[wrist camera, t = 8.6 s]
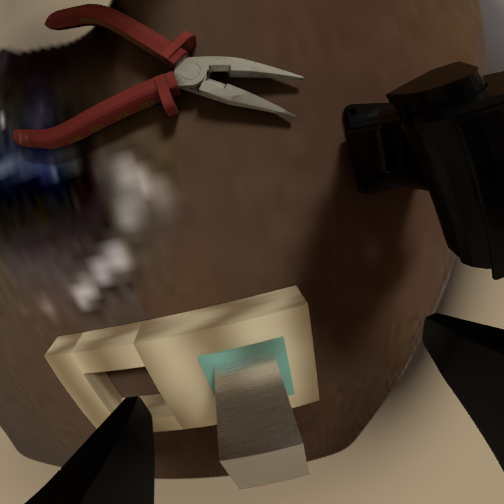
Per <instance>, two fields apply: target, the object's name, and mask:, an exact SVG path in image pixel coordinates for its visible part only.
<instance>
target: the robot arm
mask: <svg viewBox="0 0 504 504" xmlns="http://www.w3.org/2000/svg"><path fill="white" fill-rule="evenodd" d="M386 96H387V98H388V100H389V102H390V103H371V104H351V105H348V106H346V107H345V109H344V113H345V118H346V122H347V127H348V133H347V138H348V144H349V149H350V155H351V161H352V167H353V168H354V169H355V173H356V179H357V187H358V190H359V191H360V192H361V193H364V194H369V193H374V192H379V191H384V190H389V189H394V188H400V187H405V186H407V187H411V188H416V189H421V190H425V191H429V193H430V196H431V199H432V201H433V204H434V207H435V210H436V213H437V216H438V219H439V222H440V225H441V228H442V232H443V235H444V238H445V240H446V243H447V245H448V248H449V249H451V250H452V251H453V252H454V253H455V254H456V255H457V256H459V257H460V260H461V262H462V263H464V264H466V265H469V266H471V267H477V268H484V269H492V278H493V279H495V280H497V279H500V278H503V277H504V71H502V72H498V73H493V74H489V75H484V76H482V74H481V72H480V70H479V68H478V67H476V66H473V65H470V64H466V63H463V62H460V61H459V62H455V63H452V64H448V65H445V66H442V67H439V68H436V69H433V70H431V71H429V72H427V73H425V74H423V75H421V76H419V77H417V78H415V79H413V80H412V81H410V82H408V83H406V84H404V85H402V86H400V87H399V88H397V89H395V90H393V91H391V92H390V93H388V94H386ZM350 109H352V110H353V111H354V114H351V113H350ZM364 184H366V189H365V190H364V189H363V185H364ZM422 340H423V343H424V345H425V347H426V349H427V350H428V352H429V354H430V355H431V357H432V359H433V360H434V362H435V364H436V366H437V368H438V369H439V371H440V373H441V374H442V376H443V378H444V379H445V381H446V382H447V384H448V385H449V386H450V388H451V389H452V391H453V392H454V393H455V395H456V396H457V398H458V399H459V400H460V402H461V403H462V405H463V406H464V408H465V409H466V411H467V412H468V414H469V415H470V417H471V418H472V420H473V421H474V423H475V424H476V426H477V428H478V429H479V431H480V432H481V434H482V435H483V437H484V438H485V440H486V442H487V443H488V445H489V447H490V448H491V450H492V452H493V453H494V455H495V457H496V459H497V460H498V462H499V464H500V466H501V468H502V469H503V471H504V330H503V329H500V328H495V327H491V326H487V325H483V324H479V323H475V322H471V321H467V320H463V319H459V318H455V317H451V316H447V315H443V314H439V313H434V314H432V315H430V316H427V317H426V318H425V321H424V328H423V335H422ZM154 477H155V452H154V437H153V418H152V415H151V412H150V411H149V409H148V408H147V406H146V405H145V403H144V402H143V400H142V399H141V398H140V397H139V396H129V397H126V398H125V399H124V400H123V401H122V402H121V403H120V404H119V405H118V406H117V407H116V409H115V410H114V411H113V412H112V413H111V414H110V415H109V416H108V417H107V418H106V420H105V421H104V422H103V423H102V424H101V425H100V426H99V427H98V428H97V429H96V431H95V432H94V433H93V434H92V435H91V436H90V437H89V438H88V439H87V440H86V442H85V443H84V444H83V445H82V446H81V447H80V448H79V449H78V450H77V451H76V452H75V454H74V455H73V456H72V457H71V458H70V459H69V460H68V461H67V462H66V463H65V464H64V466H63V467H62V468H61V470H59V471H58V472H57V473H56V474H55V475H54V476H53V477H52V478H51V480H50V481H49V482H48V483H47V484H46V485H45V486H44V487H43V488H41V489H40V490H39V491H38V492H37V493H36V494H35V495H34V496H33V497H32V498H30V499H29V500H28V501H27V502H26V503H25V504H154Z"/></svg>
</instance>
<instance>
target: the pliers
mask: <svg viewBox="0 0 504 504" xmlns="http://www.w3.org/2000/svg"><path fill="white" fill-rule="evenodd" d="M45 25H46V26H47V27H48V28H50V29H53V30H67V29H72V28H78V27H84V26H95V25H100V26H103V27H106V28H108V29H110V30H112V31H113V32H115V33H117V34H119V35H120V36H122V37H124V38H125V39H127V40H128V41H130V42H132V43H133V44H135V45H136V46H138V47H140V48H141V49H143V50H144V51H146V52H147V53H149V54H150V55H152V56H153V57H155V58H156V59H158V60H159V61H161V62H162V63H164V64H165V65H167V66H168V67H170V68H171V69H173V70H174V72H173V71H170V72H168V73H165V74H164V73H163V74H161V75H158V76H155V77H154V78H152V79H150V80H147V81H145V82H143V83H140V84H138V85H136V86H133V87H131V88H129V89H127V90H125V91H122V92H120V93H118V94H116V95H114V96H112V97H110V98H108V99H106V100H104V101H102V102H100V103H98V104H96V105H95V106H93V107H91V108H89V109H87V110H85V111H84V112H82V113H80V114H78V115H77V116H75V117H73V118H71V119H70V120H68V121H66V122H64V123H62V124H59V125H57V126H54V127H51V128H47V129H41V130H34V129H14V131H13V139H14V141H15V142H16V143H17V144H18V145H20V146H23V147H35V148H46V149H56V148H61V147H64V146H67V145H70V144H72V143H75V142H77V141H80V140H82V139H84V138H86V137H88V136H89V135H91V134H93V133H95V132H97V131H99V130H101V129H103V128H105V127H107V126H109V125H111V124H113V123H115V122H117V121H119V120H121V119H123V118H125V117H127V116H130V115H132V114H134V113H136V112H139V111H141V110H143V109H145V108H148V107H150V106H153V105H155V104H158V103H160V102H162V104H163V107H164V109H165V112H166V113H167V114H168V115H169V116H170V117H171V116H173V115H176V114H179V111H178V108H177V105H176V102H175V99H174V97H176V96H179V95H182V94H181V91H180V89H183V90H185V91H189V92H192V93H195V94H198V95H201V96H204V97H207V98H210V99H213V100H216V101H219V102H222V103H225V104H228V105H233V106H239V107H245V108H251V109H256V110H261V111H266V112H271V113H276V114H281V115H285V116H289V117H295V116H296V115H294V114H292V113H290V112H288V111H286V110H285V109H283V108H281V107H279V106H277V105H275V104H273V103H271V102H269V101H267V100H265V99H262V98H260V97H258V96H256V95H254V94H252V93H250V92H247V91H245V90H243V89H240V88H238V87H235V86H233V85H230V84H228V83H227V85H226V84H223V83H221V82H218V81H215V80H212V79H209V78H207V75H208V77H209V76H210V74H211V73H212V72H213V71H226V72H227V73H228V74H229V77H242V78H282V79H298V80H303V79H304V77H302V76H299V75H296V74H293V73H290V72H287V71H284V70H281V69H278V68H274V67H271V66H268V65H264V64H261V63H257V62H253V61H249V60H245V59H241V58H234V57H218V56H209V57H190V56H189V53H188V52H189V51H190V50H192V49H193V48H194V47H195V46H196V44H197V43H196V36H195V35H193V34H192V33H190V32H189V31H184V32H183V33H181V34H180V35H179V36H178V37H177V38H176V39H175V40H174V41H173V42H171V41H170V40H168V39H166V38H165V37H163V36H162V35H160V34H158V33H157V32H155V31H153V30H152V29H150V28H148V27H147V26H145V25H143V24H142V23H140V22H138V21H136V20H134V19H133V18H131V17H129V16H127V15H125V14H124V13H122V12H120V11H118V10H116V9H113V8H110V7H107V6H103V5H98V4H86V5H81V6H76V7H72V8H67V9H63V10H59V11H56V12H54V13H52V14H51V15H50V16H49V17H48V18H47V20H46V22H45Z"/></svg>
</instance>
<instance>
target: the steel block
mask: <svg viewBox="0 0 504 504" xmlns="http://www.w3.org/2000/svg"><path fill="white" fill-rule="evenodd" d="M214 370H215V395H216V416H217V433H218V449H219V461H220V463H221V464H222V466H223V467H224V468H225V470H226V471H227V472H228V474H229V475H230V477H231V478H232V479H233V481H234V482H235V483H236V484H237V486H238V487H239V488H240V489H244V488H250V487H255V486H261V485H266V484H271V483H276V482H281V481H285V480H289V479H293V478H297V477H301V476H304V475H308V474H309V472H308V467H307V461H306V456H305V450H304V445H303V441H302V438H301V435H300V432H299V429H298V426H297V423H296V420H295V417H294V414H293V411H292V408H291V405H290V401H289V398H288V395H287V392H286V389H285V386H284V383H283V380H282V377H281V374H280V370H279V367H278V364H277V361H276V358H275V355H274V352H273V351H272V352H268V353H264V354H260V355H256V356H252V357H248V358H244V359H239V360H235V361H231V362H226V363H221V364H217V365H214Z"/></svg>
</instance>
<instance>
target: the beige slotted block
mask: <svg viewBox="0 0 504 504" xmlns="http://www.w3.org/2000/svg"><path fill="white" fill-rule="evenodd" d="M272 351H273V352H274V355H275V358H276V361H277V364H278V367H279V370H280V374H281V377H282V380H283V383H284V386H285V389H286V392H287V395H288V398H289V401H290V405H291V408H294V407H298V406H301V405H305V404H308V403H312V402H315V401H318V400H319V392H318V382H317V373H316V364H315V355H314V347H313V339H312V331H311V323H310V316H309V308H308V303H307V302H306V300H305V299H304V297H303V295H302V294H301V292H300V291H299V289H298V288H297V286H296V285H295V286H291V287H287V288H284V289H280V290H276V291H272V292H268V293H264V294H260V295H256V296H252V297H248V298H244V299H240V300H236V301H232V302H228V303H223V304H219V305H215V306H211V307H206V308H202V309H198V310H193V311H189V312H184V313H180V314H175V315H170V316H166V317H161V318H156V319H151V320H146V321H141V322H136V323H131V324H126V325H121V326H116V327H111V328H105V329H100V330H94V331H88V332H83V333H77V334H71V335H65V336H59V337H57V339H56V340H55V341H54V343H53V344H52V346H51V347H50V348H49V350H48V351H47V353H46V354H45V358H46V360H47V361H48V363H49V365H50V366H51V368H52V369H53V371H54V372H55V374H56V375H57V377H58V378H59V380H60V381H61V383H62V384H63V386H64V387H65V389H66V390H67V391H68V393H69V394H70V395H71V397H72V398H73V400H74V401H75V402H76V404H77V405H78V406H79V407H80V409H81V410H82V411H83V413H84V414H85V415H86V416H87V418H88V419H89V420H90V421H91V422H92V424H93V425H94V426H95V427H96V428H98V427H99V426H100V425H101V424H102V423H103V422H104V421H105V420H106V418H107V417H108V416H109V415H110V414H111V413H112V412H113V411H114V410H115V409H116V407H117V406H118V405H119V404H120V403H121V402H122V401H123V400H124V399H125V398H122V397H121V395H120V394H119V392H118V391H117V389H116V388H115V386H114V384H113V383H112V381H111V380H110V378H109V377H108V375H107V373H106V372H105V371H114V370H122V369H130V368H137V367H144V366H145V367H146V369H147V371H148V373H149V374H150V376H151V378H152V380H153V382H154V383H155V385H156V387H157V388H158V390H159V392H160V394H155V395H147V396H139V397H140V398H141V399H142V400H143V402H144V403H145V405H146V406H147V408H148V409H149V411H150V412H151V415H152V418H153V432H160V431H172V430H182V429H190V428H198V427H205V426H212V425H217V416H216V395H215V370H214V365H217V364H221V363H226V362H231V361H235V360H239V359H244V358H248V357H252V356H256V355H260V354H264V353H268V352H272Z"/></svg>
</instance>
